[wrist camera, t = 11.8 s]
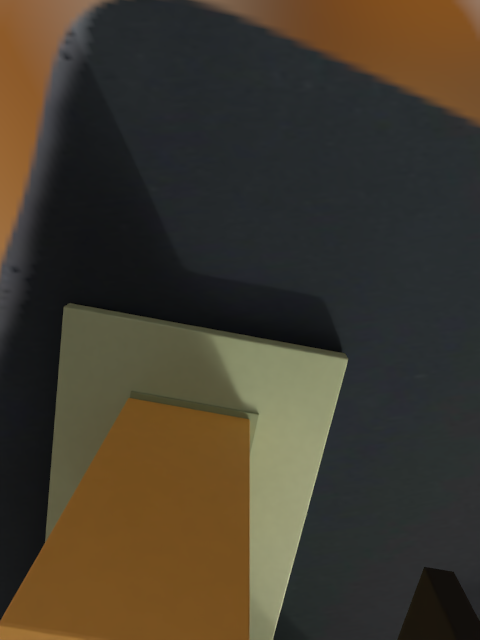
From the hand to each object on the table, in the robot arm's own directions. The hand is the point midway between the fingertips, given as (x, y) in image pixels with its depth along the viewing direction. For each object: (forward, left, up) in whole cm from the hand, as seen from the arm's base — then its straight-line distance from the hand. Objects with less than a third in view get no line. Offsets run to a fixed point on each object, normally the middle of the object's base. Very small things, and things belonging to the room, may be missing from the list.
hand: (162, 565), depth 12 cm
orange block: (0, 0, -4) cm, 4 cm away
